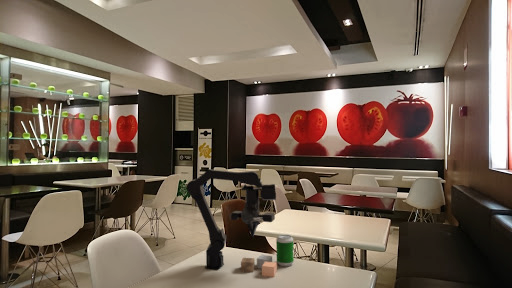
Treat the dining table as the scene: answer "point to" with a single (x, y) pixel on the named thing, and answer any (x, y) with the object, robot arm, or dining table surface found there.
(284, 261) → the soda can
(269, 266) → the terracotta block
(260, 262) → the slate block
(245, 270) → the walnut block
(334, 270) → the dining table surface
